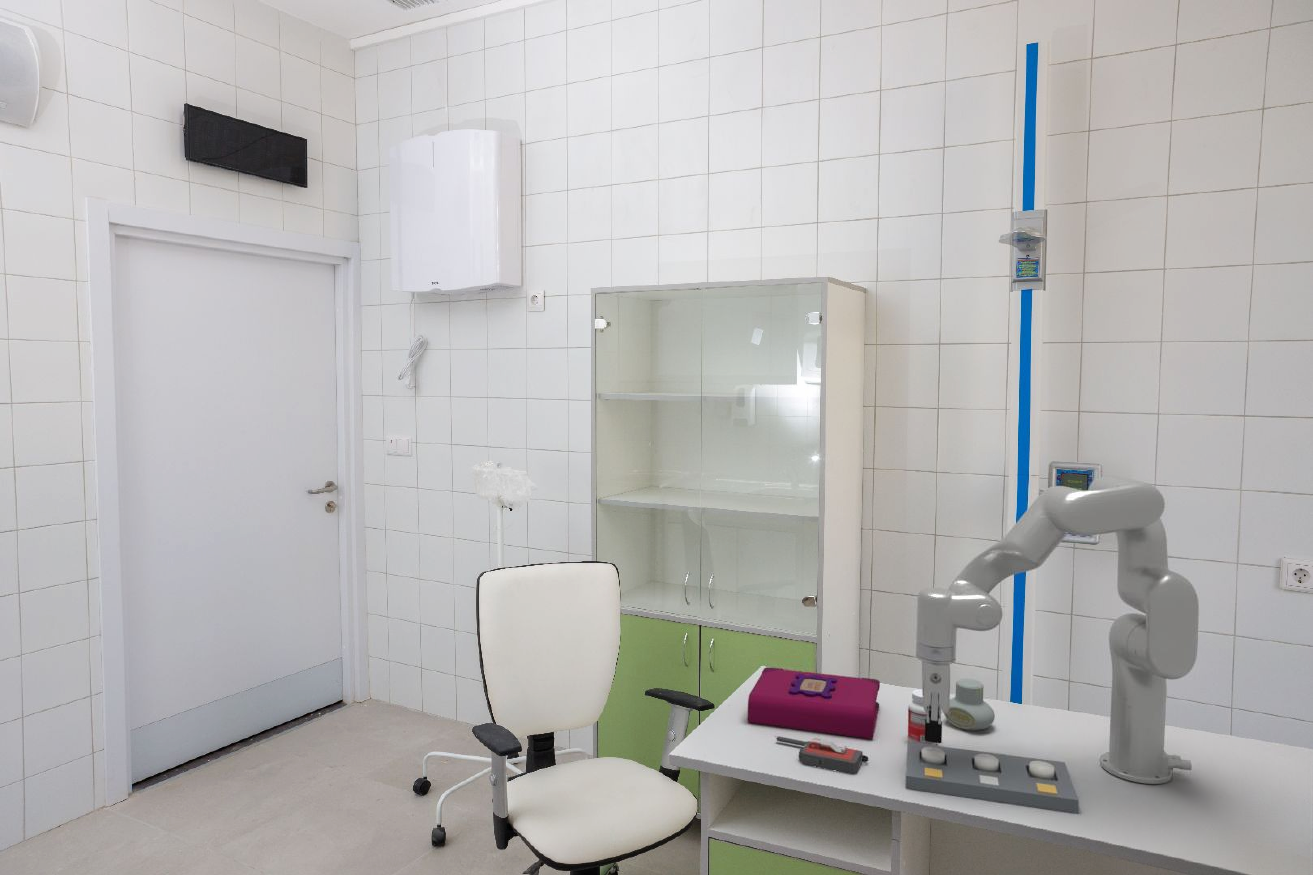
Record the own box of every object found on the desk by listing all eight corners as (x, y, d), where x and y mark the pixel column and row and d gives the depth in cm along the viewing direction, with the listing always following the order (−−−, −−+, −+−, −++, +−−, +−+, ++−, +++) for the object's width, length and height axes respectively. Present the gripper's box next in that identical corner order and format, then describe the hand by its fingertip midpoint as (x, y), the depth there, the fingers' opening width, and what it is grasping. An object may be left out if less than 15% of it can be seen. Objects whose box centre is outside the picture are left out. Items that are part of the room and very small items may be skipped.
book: (873, 743, 182) (873, 709, 181) (746, 726, 190) (747, 693, 190) (879, 707, 201) (880, 677, 201) (764, 693, 210) (765, 664, 210)
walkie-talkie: (870, 760, 173) (777, 742, 182) (871, 739, 173) (778, 722, 181) (861, 778, 165) (765, 758, 174) (862, 756, 165) (765, 737, 174)
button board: (1064, 774, 167) (1064, 760, 166) (1078, 813, 151) (1078, 798, 151) (907, 753, 176) (907, 740, 175) (905, 788, 160) (906, 774, 160)
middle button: (997, 764, 166) (997, 755, 166) (999, 773, 162) (999, 764, 162) (973, 761, 168) (973, 752, 167) (974, 770, 163) (975, 761, 163)
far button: (944, 757, 169) (944, 748, 169) (944, 766, 165) (945, 757, 165) (921, 754, 171) (921, 745, 170) (921, 763, 166) (921, 754, 166)
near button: (1052, 771, 163) (1052, 762, 163) (1055, 781, 159) (1056, 772, 159) (1027, 768, 165) (1028, 759, 164) (1030, 778, 160) (1030, 769, 160)
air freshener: (937, 723, 191) (938, 680, 191) (954, 713, 197) (956, 672, 196) (982, 738, 183) (984, 693, 183) (1000, 728, 189) (1001, 684, 188)
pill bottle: (918, 734, 185) (919, 685, 185) (942, 743, 181) (944, 693, 180) (901, 741, 181) (902, 692, 181) (926, 751, 177) (928, 700, 176)
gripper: (957, 665, 158) (954, 759, 159) (954, 642, 172) (951, 728, 174) (915, 660, 160) (912, 753, 162) (916, 638, 175) (913, 723, 176)
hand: (932, 740), depth 168 cm, fingers closed
